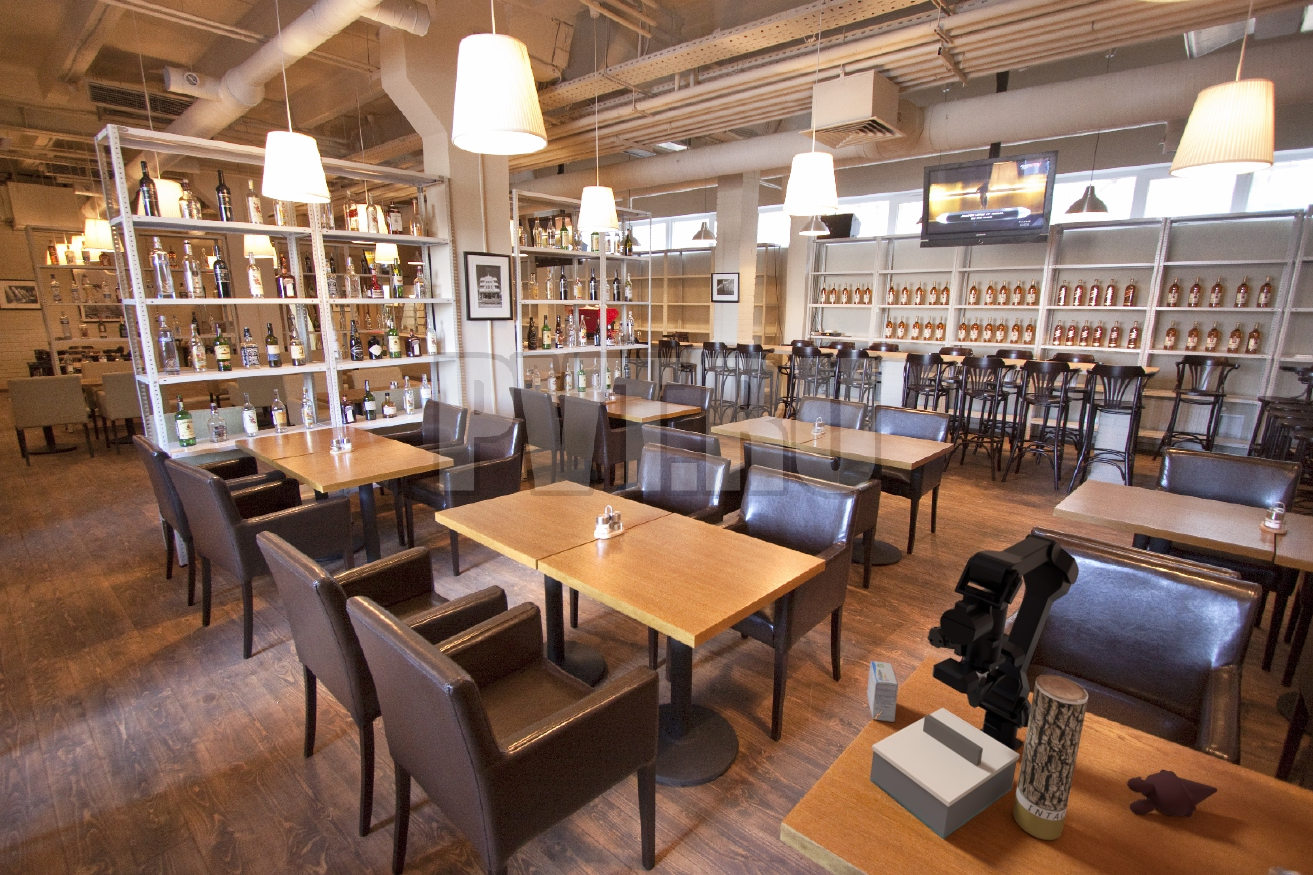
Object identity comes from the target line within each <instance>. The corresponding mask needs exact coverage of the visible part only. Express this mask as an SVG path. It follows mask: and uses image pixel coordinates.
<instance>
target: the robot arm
mask: <svg viewBox="0 0 1313 875" xmlns="http://www.w3.org/2000/svg"><path fill="white" fill-rule="evenodd" d="M1079 572H1080V569H1079V565H1078V563H1077V560H1076V559H1075V557H1074V556H1072V555H1071V554H1070V553H1069V552H1068V551H1067V550H1065V549H1064V548H1063V547H1062V544H1061V543H1060V541H1057V540H1056V539H1055V538H1051V537H1048V536H1044V535H1041V534H1036V533H1028V534H1027V535H1026V536H1025V538H1024V539H1022V540H1020V541H1018V542H1017V543H1014V544H1013V545H1011V546H1009V547H1007V548H1004V549H1003V550H988V549H986V550H980V551H977V552H976V553H975V554H973V555H972V556H970V557H969V558H968V560H967V562H966V564H965V566H964V569H963V571H962V572H961V575H960V578H959V580H958V581H957V583H956V586H955V587H954V593H956V594H959V595H962V599H959V600H957V601H955V602H954V606H953V607H951V608H949V609H947V610H945V611H944V612H943V613H942V615H941V616H940V618H939V625H938V626H934V627H931V628H930V629H929V631H928V635H927V640H928V641H929V642H928V643H929V644H930V646H933V647H934V648H936V649H941V648H942V649H947V650H953V655H956V656H958V657H961V658H962V657H963V660H960V661H958V659H957V660H956V659H955V658H953V657H948V658H945V659H944V660H941V661H939V662H937V663H935V664H933V667H932V674H931V675H932V677H933V679H936V680H937V681H939V682H941V683H942V684H945V685H946V686H947V687H950V688H951V689H953V690H955V691H957V692H958V693H960V694H964V695H966V696H967V697H966V698H967V701H968V705H969V706H971V708H974V709H976V708H977V707H979V708H980V709H982V710H984V718H983V724H982V728H980V729H979V730H980V731H982V732H984V733H985V734H987V735H988V736H990V737H992V738H993V739H995V740H997V741H998V742H1000V743H1002V744H1003V745H1005V746H1007V747H1008V748H1010V749H1012V750H1013V751H1015V752H1016V751H1017V750H1018V749H1020V748H1021V747H1024V742H1023V741H1022V740H1021V739H1019V738H1017V736H1018V730H1022V729H1023V728H1027V727H1028V721H1029V715H1030V710H1031V704H1032V703H1031V702H1030V700H1029V697H1030V696H1029V695H1030V693H1031V689H1030V686H1029V685H1030V684H1029V681H1028V677H1027V671H1028V668H1029V665H1030V664H1031V661H1032V659H1033V656H1034V653H1035V650H1036V647H1037V646H1038V642H1039V640H1040V637H1041V635H1042V632H1043V629H1044V627H1045V624H1046V621H1047V618H1048V616H1049V614H1050V611H1051V608H1052V606H1053V604H1054V603H1055V602H1056V601H1058V600H1059V599H1061V598H1063V597H1064V596H1066V595H1068V593H1069V591H1070V588H1071V586H1073V585H1075V584H1076V581H1077V580H1078V577H1079V574H1080V573H1079ZM1023 583H1024V586H1025V589H1026V590H1025V594H1024V595H1023V597H1022V598H1023V599H1022V601H1021V603H1020V606H1019V607H1018V608H1019V609H1018V611H1017V614H1016V616H1015V619H1014V621H1013V624H1012V626H1011V629H1010V631H1009V634H1008V633H1006V632H1005V628H1006V621H1007V616H1008V611H1009V610H1008V609H1009V605H1010V606H1011V605H1012V604H1013V602H1014V601H1015V600H1014V599H1015V598H1016V596H1017V594H1018V593H1019V591H1020V589H1021V587H1022V585H1023ZM970 584H972V585H976V586H978V587H981V588H982V589H980V588H978V587H975V586H972V585H970Z"/></svg>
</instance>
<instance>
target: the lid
mask: <svg viewBox="0 0 1313 875" xmlns="http://www.w3.org/2000/svg"><path fill="white" fill-rule="evenodd" d="M871 750H872V751H875V752H876V753H877V754H879V755H880V756H881V757H883V758H884V759H885V760H887V761H888V762H889V763H891V764H892V765H893V766H895V767H896V768H897V769H899V770H900V771H901V772H903V773H904V774H905V775H907V776H908V777H909V778H911V779H912V780H913V781H915V782H916V783H917V784H919V785H920V786H921V787H923V788H924V789H925V790H927V791H928V792H929V793H931V794H932V795H933V796H935V797H936V798H937V799H939V800H940V801H941V802H943V803H944V804H945V805H947V806H948V807H949V806H951V805H952V804H954V803H955V802H956V801H958V800H959V799H961V798H962V797H964V796H965V795H967V794H968V793H970V792H971V791H972V790H974V789H975V788H977V787H978V786H980V785H981V784H983V783H984V782H986V781H987V780H989V779H990V778H991V777H993V776H994V775H996V774H997V773H999V772H1000V771H1002V770H1003V769H1005V768H1006V767H1007V766H1009V765H1010V764H1012V763H1013V762H1015V761H1016V760H1017V761H1018V760H1019V759H1020V753H1018V752H1016V750H1015V751H1013V750H1012V749H1010V748H1008V747H1007V746H1005V745H1003V744H1002V743H1000V742H998V741H997V740H995V739H993V738H992V737H990V736H988V735H987V734H985V733H984V732H982V731H980V729H979V728H976V727H975V726H974V725H972V724H970V723H969V722H967V721H965V720H964V719H962V718H960V717H959V716H957V715H956V714H954V713H952V712H950V711H949V710H947V708H944V707H941V708H939V709H937V710H936V711H933V712H931V713H930V714H929V713H928V714H926V715H925V716H924V717H922V718H920V719H919V720H917V721H915V722H913V723H911V724H909V725H907V726H905V727H904V728H902V729H900V730H898V731H897V732H895V733H892V734H891V735H889V736H887V737H885V738H882V739H881V740H879V741H877V742H876V743H874V744H872V746H871Z"/></svg>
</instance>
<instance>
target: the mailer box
mask: <svg viewBox="0 0 1313 875" xmlns="http://www.w3.org/2000/svg"><path fill="white" fill-rule="evenodd" d="M872 751H873V750H872ZM1017 762H1018V760H1016V761H1015V762H1013V763H1012V764H1010V765H1009V766H1007V767H1006V768H1005V769H1003V770H1002V771H1000V772H999V773H997V774H996V775H994V776H993V777H991V778H990V779H989V780H987V781H986V782H984V783H983V784H981V785H980V786H978V787H977V788H975V789H974V790H972V791H971V792H970V793H968V794H967V795H965V796H964V797H962V798H961V799H959V800H958V801H956V802H955V803H954V804H952V805H951V806H949V807H948V806H947V805H945V804H944V803H943V802H941V801H940V800H939V799H937V798H936V797H935V796H933V795H932V794H931V793H929V792H928V791H927V790H925V789H924V788H923V787H921V786H920V785H919V784H917V783H916V782H915V781H913V780H912V779H911V778H909V777H908V776H907V775H905V774H904V773H903V772H901V771H900V770H899V769H897V768H896V767H895V766H893V765H892V764H891V763H889V762H888V761H887V760H885V759H884V758H883V757H881V756H880V755H879V754H877V753H876V752H875V751H873V752H872V759H871V770H870V775H869V776H870V778H869V780H870V782H871V783H873V784H874V785H875V786H877V787H878V788H879V789H880V790H881V791H883V792H884V793H885V794H886V795H888V796H889V797H890V798H891V799H893V800H894V801H895V802H896V803H897V804H899V805H900V806H901V807H903V809H904V810H907V811H908V812H909V813H910V814H911V815H913V816H914V817H915V818H916V819H917V820H919V821H920V822H921V823H923V824H924V825H925V826H926V827H928V829H930V831H932V832H933V833H935V834H936V835H937V836H939V837H940V838H941V839H942V840H944V839H945V838H947V837H948V836H950V835H951V834H952V833H954V832H955V831H956V830H958V829H959V828H960V827H962V826H963V825H964V824H967V822H969V821H970V820H971V819H973V818H974V817H975V816H977V815H978V814H981V812H983V811H984V810H985V809H987V808H988V807H989V806H991V805H993V804H994V803H995V802H996V801H998V800H1000V798H1002V797H1004V795H1006V794H1007V793H1009V792H1010V791H1012V790H1013V785H1014V779H1015V773H1016V768H1017Z"/></svg>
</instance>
